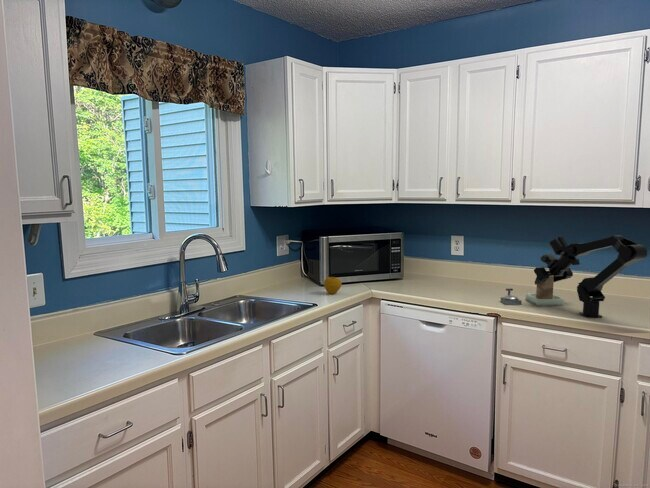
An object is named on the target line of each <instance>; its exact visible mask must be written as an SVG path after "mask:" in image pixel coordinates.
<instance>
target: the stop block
mask: <svg viewBox="0 0 650 488" xmlns="http://www.w3.org/2000/svg"><path fill="white" fill-rule="evenodd" d="M554 283H555V282H554V276H549V279H547V280H546V281H544V282H542V283H539V284H536V292H535V293H536V298H537V299H553V294H554Z"/></svg>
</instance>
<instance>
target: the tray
mask: <svg viewBox="0 0 650 488" xmlns="http://www.w3.org/2000/svg"><path fill="white" fill-rule="evenodd" d="M525 300H526V301H527V302H530V303H532V304H533V305H535V306H537V307H540V306H543V307H549V306H550V307H551V306H552V307H553V306H554V307H557V306H559V307H561V306H562V307H564V303H565V298H562V297H560V296H558V295H556V294H554V293H553V299H537V298H536V292H535V293H528V292H527V293H525Z"/></svg>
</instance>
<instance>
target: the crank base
mask: <svg viewBox="0 0 650 488" xmlns="http://www.w3.org/2000/svg"><path fill="white" fill-rule="evenodd" d="M500 302H501V303H503V304H504V305H506V306H521V305H522V303H523V302H522V299H519V298H518V300H507V299H504V296H502V297H500Z"/></svg>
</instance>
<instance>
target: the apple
mask: <svg viewBox="0 0 650 488" xmlns="http://www.w3.org/2000/svg"><path fill="white" fill-rule="evenodd" d="M323 287H324V289H325V291H326V292H327V293H328V295H335V294H337V293H338V292H339V291H340V289H341V287H342V281H341V279H340V278H339V277H336V276H329V277H326V278H325V279H324V280H323Z"/></svg>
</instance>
